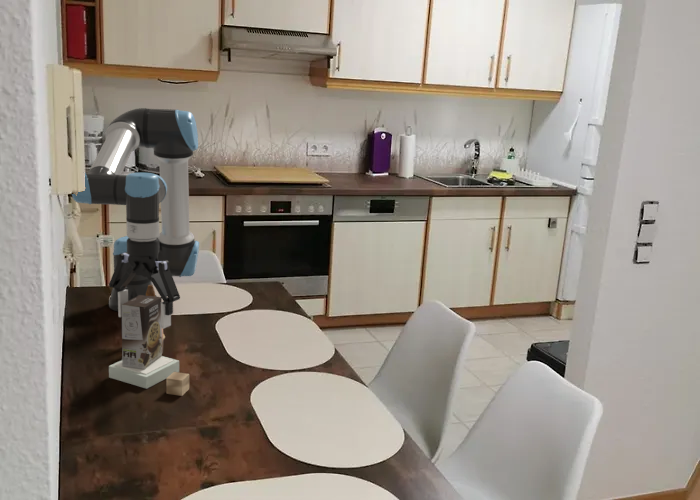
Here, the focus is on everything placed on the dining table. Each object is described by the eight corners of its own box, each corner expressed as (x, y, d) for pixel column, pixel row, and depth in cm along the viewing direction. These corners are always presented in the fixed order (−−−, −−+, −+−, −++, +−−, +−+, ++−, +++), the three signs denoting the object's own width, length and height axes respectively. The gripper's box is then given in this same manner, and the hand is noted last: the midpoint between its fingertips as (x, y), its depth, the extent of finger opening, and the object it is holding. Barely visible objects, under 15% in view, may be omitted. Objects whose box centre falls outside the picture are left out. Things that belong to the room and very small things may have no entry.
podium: (109, 377, 166) (108, 365, 165) (143, 361, 176) (142, 349, 175) (146, 388, 161) (146, 376, 160) (179, 371, 171) (179, 359, 171)
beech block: (166, 393, 159) (166, 378, 158) (173, 386, 163) (173, 371, 162) (182, 396, 158) (182, 380, 157) (189, 389, 162) (189, 373, 161)
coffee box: (145, 369, 163) (144, 307, 160) (121, 366, 165) (120, 304, 161) (163, 356, 172) (162, 296, 168) (140, 353, 173) (139, 293, 170)
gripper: (92, 232, 162) (95, 315, 167) (174, 249, 152) (174, 336, 157) (115, 227, 169) (117, 307, 174) (194, 243, 159) (194, 326, 164)
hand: (144, 321), depth 166 cm, fingers open, 13 cm apart
